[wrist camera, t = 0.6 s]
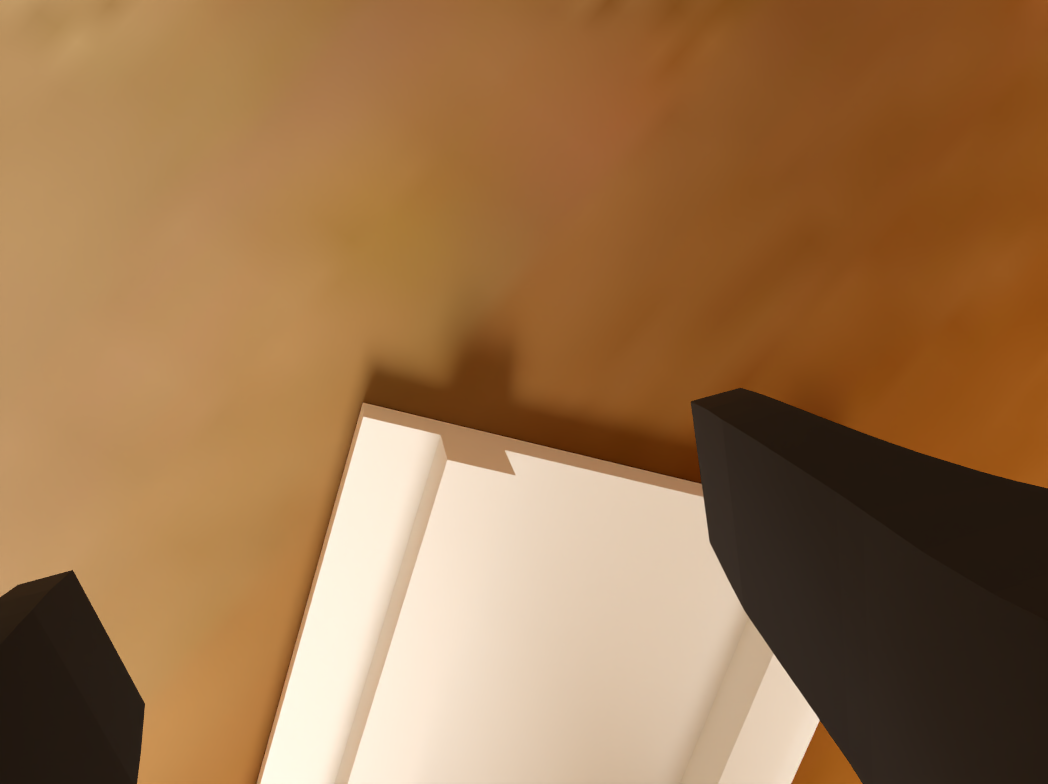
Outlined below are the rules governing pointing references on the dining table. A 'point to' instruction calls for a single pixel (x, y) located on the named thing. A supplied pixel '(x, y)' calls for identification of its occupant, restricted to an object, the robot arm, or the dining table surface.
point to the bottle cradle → (524, 627)
